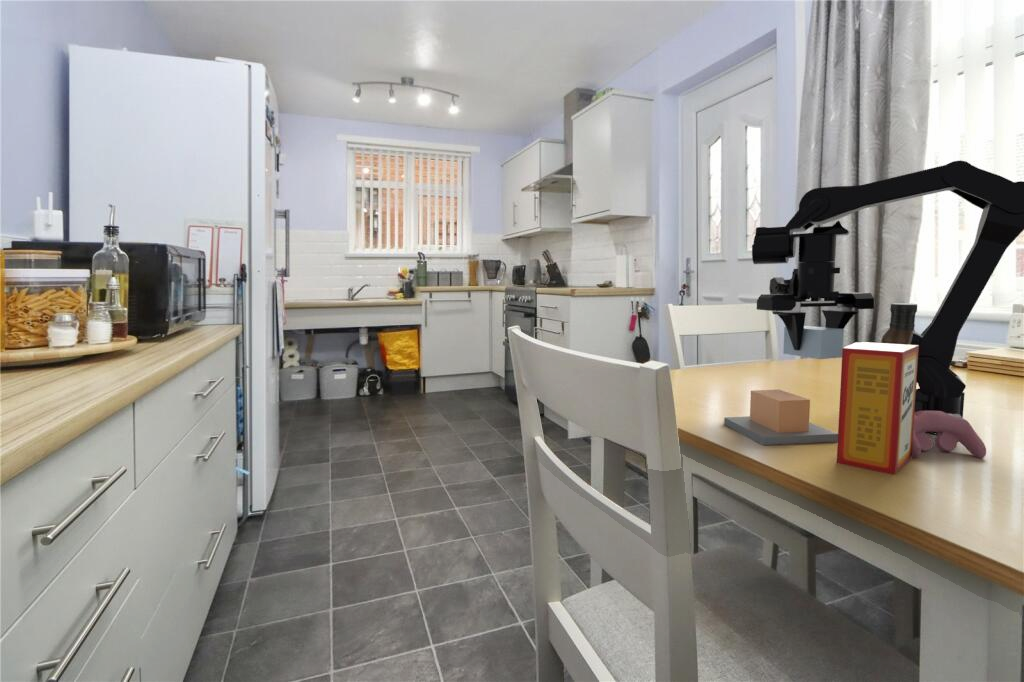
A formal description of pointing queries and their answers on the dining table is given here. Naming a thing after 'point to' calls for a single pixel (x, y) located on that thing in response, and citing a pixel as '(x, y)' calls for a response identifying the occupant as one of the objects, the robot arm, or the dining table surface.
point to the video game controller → (944, 433)
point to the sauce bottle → (900, 323)
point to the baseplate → (773, 437)
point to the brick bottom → (780, 410)
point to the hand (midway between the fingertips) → (812, 349)
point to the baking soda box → (877, 405)
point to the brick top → (817, 343)
